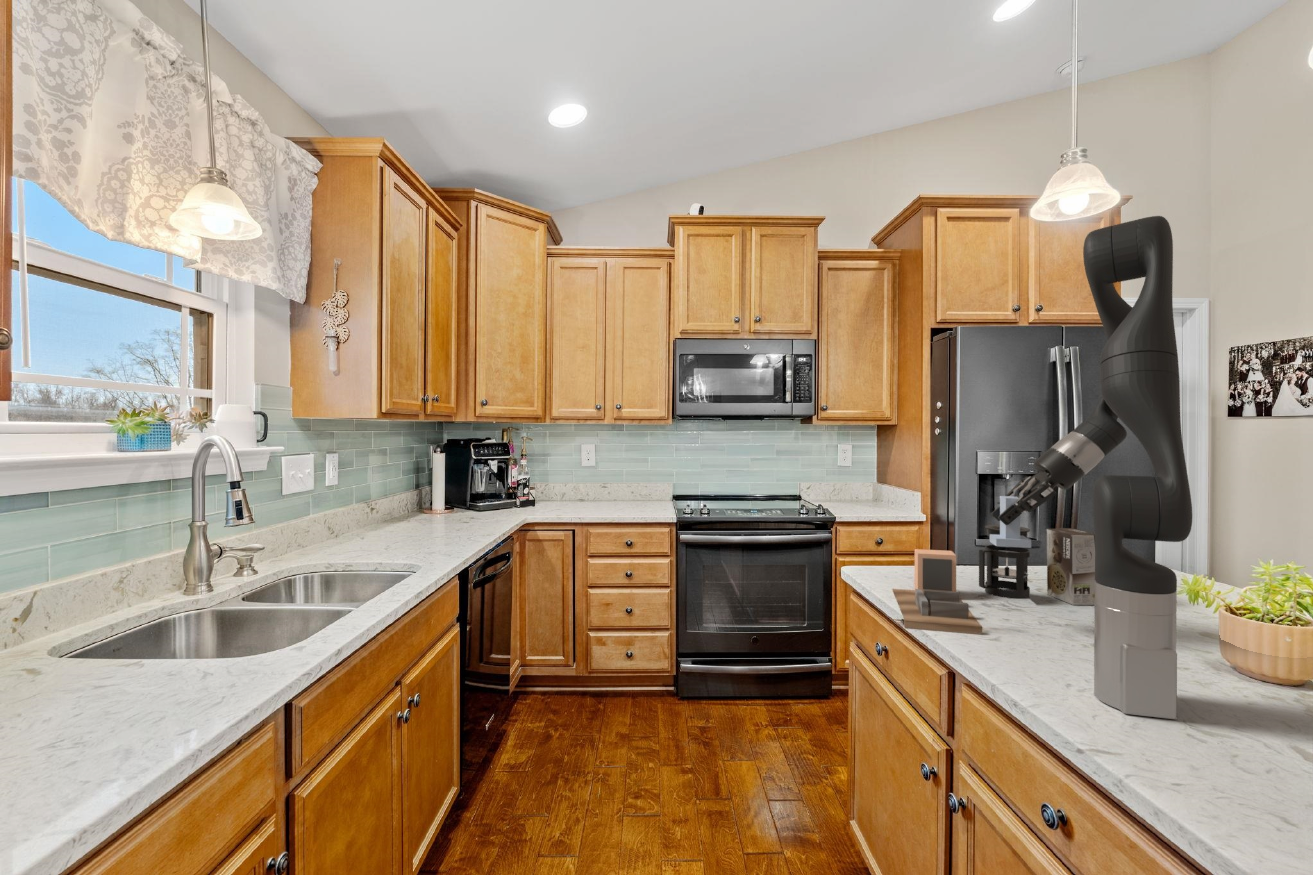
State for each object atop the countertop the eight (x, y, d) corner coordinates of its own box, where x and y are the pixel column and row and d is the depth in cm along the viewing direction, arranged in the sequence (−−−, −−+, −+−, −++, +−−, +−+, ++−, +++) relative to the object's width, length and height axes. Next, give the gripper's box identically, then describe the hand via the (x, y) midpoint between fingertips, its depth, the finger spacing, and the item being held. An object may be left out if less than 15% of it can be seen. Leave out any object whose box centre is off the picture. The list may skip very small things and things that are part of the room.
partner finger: (956, 600, 129) (956, 555, 129) (918, 597, 132) (918, 553, 132) (951, 593, 135) (951, 550, 135) (914, 590, 137) (914, 549, 137)
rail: (982, 634, 112) (982, 611, 112) (904, 627, 116) (904, 605, 116) (955, 599, 135) (955, 580, 135) (891, 594, 139) (891, 576, 139)
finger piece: (1031, 547, 112) (1031, 499, 112) (996, 546, 113) (996, 498, 113) (1022, 542, 116) (1022, 496, 116) (989, 541, 118) (989, 495, 118)
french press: (1014, 592, 140) (1015, 498, 140) (1043, 604, 131) (1043, 503, 130) (968, 594, 139) (968, 499, 139) (994, 606, 130) (994, 504, 129)
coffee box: (1100, 605, 130) (1101, 534, 130) (1072, 605, 130) (1072, 534, 130) (1072, 593, 139) (1072, 527, 139) (1045, 594, 139) (1045, 527, 139)
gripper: (1039, 445, 120) (974, 502, 123) (1067, 447, 106) (993, 511, 109) (1069, 471, 118) (1002, 527, 122) (1101, 477, 104) (1025, 540, 108)
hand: (998, 519), depth 116 cm, fingers closed on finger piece, 4 cm apart
